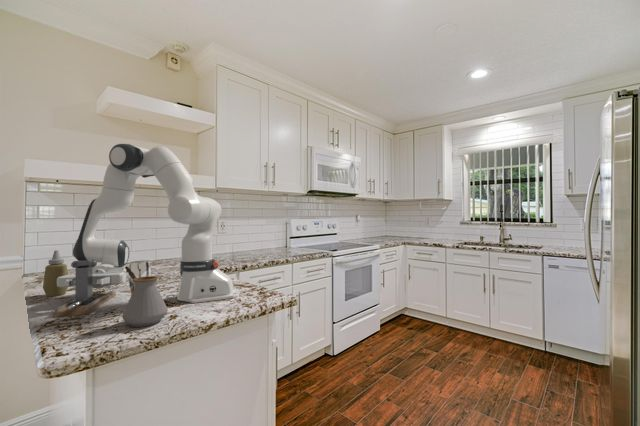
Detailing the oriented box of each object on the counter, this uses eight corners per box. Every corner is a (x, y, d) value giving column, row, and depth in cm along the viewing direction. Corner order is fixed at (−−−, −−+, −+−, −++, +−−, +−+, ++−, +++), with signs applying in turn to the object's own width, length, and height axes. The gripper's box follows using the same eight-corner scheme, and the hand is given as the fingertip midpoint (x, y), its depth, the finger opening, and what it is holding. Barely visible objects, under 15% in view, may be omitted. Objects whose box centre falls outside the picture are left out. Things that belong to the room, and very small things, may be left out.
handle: (99, 299, 106) (99, 259, 106) (83, 309, 94) (83, 263, 95) (75, 301, 104) (75, 260, 104) (55, 311, 92) (55, 265, 93)
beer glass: (140, 306, 103) (140, 263, 103) (123, 305, 104) (123, 262, 105) (155, 301, 110) (155, 260, 110) (139, 300, 111) (139, 260, 112)
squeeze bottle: (42, 294, 121) (42, 250, 122) (68, 291, 127) (68, 249, 127) (42, 298, 115) (42, 252, 116) (69, 294, 121) (69, 250, 121)
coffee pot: (174, 320, 88) (174, 270, 88) (131, 332, 79) (131, 276, 79) (144, 308, 101) (144, 263, 102) (104, 317, 92) (104, 268, 93)
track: (115, 295, 118) (115, 289, 118) (86, 314, 95) (86, 306, 95) (89, 297, 116) (89, 291, 116) (52, 317, 93) (52, 309, 93)
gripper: (68, 269, 112) (46, 276, 99) (130, 266, 118) (116, 272, 105) (68, 286, 112) (46, 295, 99) (130, 282, 118) (116, 290, 105)
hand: (83, 283), depth 102 cm, fingers open, 8 cm apart
